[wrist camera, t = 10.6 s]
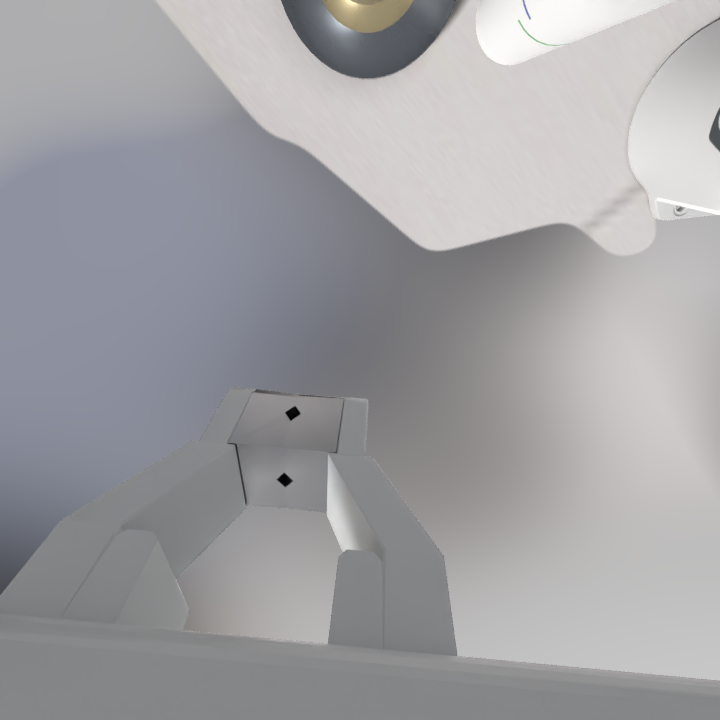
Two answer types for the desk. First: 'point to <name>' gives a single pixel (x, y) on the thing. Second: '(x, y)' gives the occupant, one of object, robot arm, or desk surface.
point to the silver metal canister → (366, 2)
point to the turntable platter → (368, 32)
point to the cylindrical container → (548, 24)
